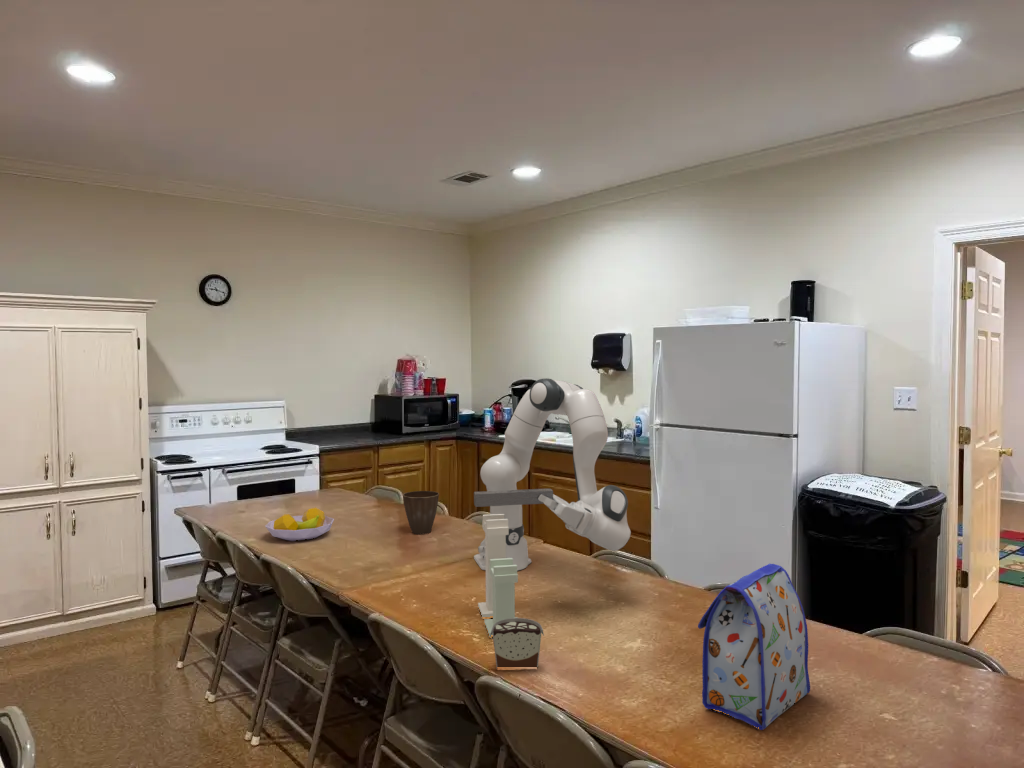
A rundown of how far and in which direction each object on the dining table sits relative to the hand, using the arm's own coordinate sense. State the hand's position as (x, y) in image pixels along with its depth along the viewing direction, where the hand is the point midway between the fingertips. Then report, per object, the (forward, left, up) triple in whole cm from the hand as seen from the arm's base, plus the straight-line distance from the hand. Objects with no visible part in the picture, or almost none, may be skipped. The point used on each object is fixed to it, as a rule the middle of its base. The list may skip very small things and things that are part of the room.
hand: (537, 494), depth 192 cm
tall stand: (-3, -12, -33) cm, 35 cm away
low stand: (+9, -15, -33) cm, 37 cm away
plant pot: (-99, -3, -33) cm, 105 cm away
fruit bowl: (-114, -49, -33) cm, 128 cm away
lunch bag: (+66, +16, -33) cm, 75 cm away
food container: (+29, -21, -33) cm, 49 cm away
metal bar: (-2, -7, -2) cm, 7 cm away
